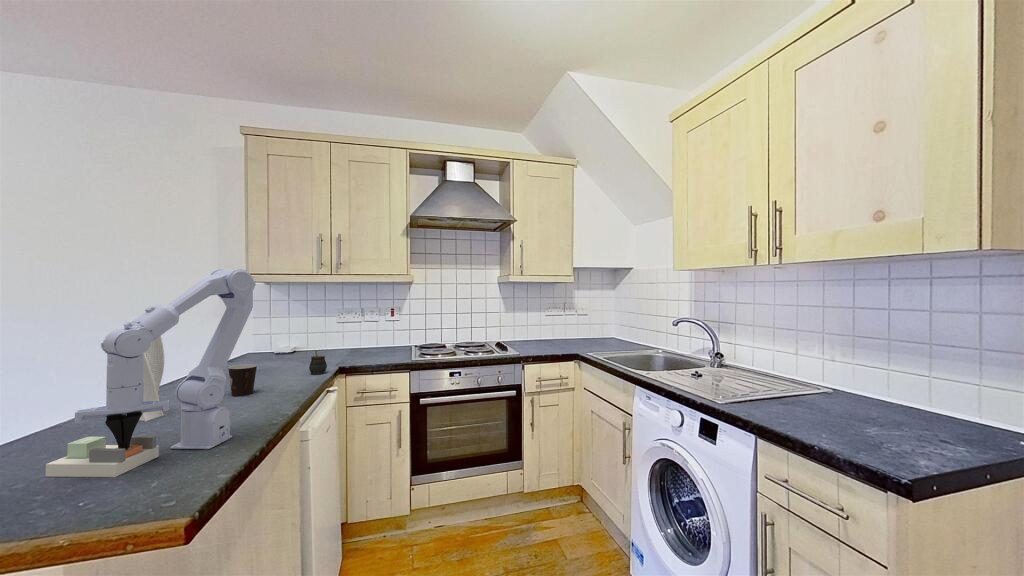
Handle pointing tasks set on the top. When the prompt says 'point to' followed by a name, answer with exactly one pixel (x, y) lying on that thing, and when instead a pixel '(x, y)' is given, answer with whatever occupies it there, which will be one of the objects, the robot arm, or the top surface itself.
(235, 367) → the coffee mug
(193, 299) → the robot arm
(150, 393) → the skyscraper
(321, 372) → the mate gourd
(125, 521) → the top surface
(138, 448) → the button
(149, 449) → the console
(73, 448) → the on button
